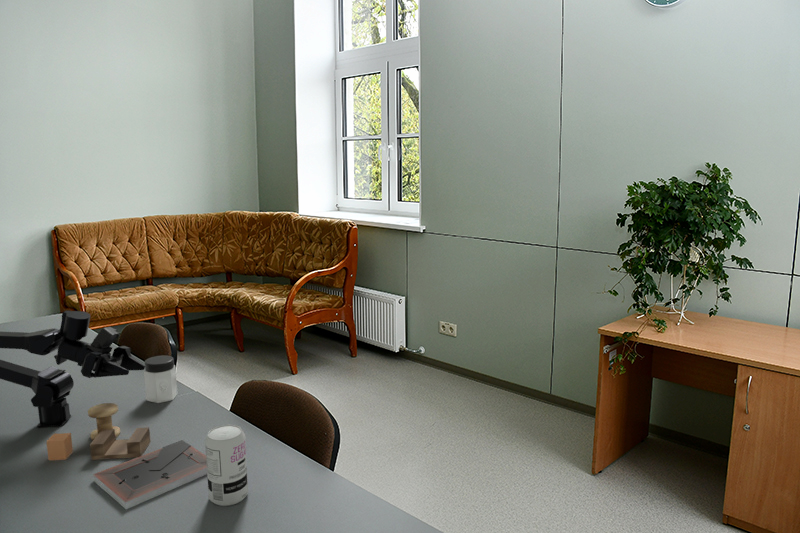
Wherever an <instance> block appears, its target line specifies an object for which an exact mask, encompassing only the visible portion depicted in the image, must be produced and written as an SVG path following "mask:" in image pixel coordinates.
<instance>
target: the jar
mask: <svg viewBox="0 0 800 533" xmlns="http://www.w3.org/2000/svg"><path fill="white" fill-rule="evenodd" d="M144 366H145V369H144V370H143V376H144V386H145V398H146V401H147V402H152V403H154V404H160V403H161V404H162V403H165V402H169V401H174V399H175V397H176V396H177V395H178V386H177V385H178V383H177V382H178V380H177V371H176V365H175V361H174V357H173V356H171V355H155V356H151V357H148V358H147V359H145V360H144Z"/></svg>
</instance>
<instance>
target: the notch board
mask: <svg viewBox="0 0 800 533" xmlns="http://www.w3.org/2000/svg"><path fill="white" fill-rule="evenodd" d="M91 441H92V442H91V443H90V444H89V449H90V456H91V457H90V458H91V461H95V460H97V461H98V460H111V459H112V460H113V459H135V458H137V457H140V456H143V455H144V453H145V451H146V449H147V448H148V446H149V445H150V443H151V432H150V427H149V426H146V427H145V426H144V427H136V429H135V430H134V432H133V433H132V434H131V436H130V437H129V438H128V439H125V438H124V439H116V438H115V429H104V430H101V432H100V433H99V434H98V435H97V436H96V438H95V439H94V440H91Z"/></svg>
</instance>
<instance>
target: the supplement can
mask: <svg viewBox="0 0 800 533" xmlns="http://www.w3.org/2000/svg"><path fill="white" fill-rule="evenodd" d="M204 442H205V443H204V445H205V455H206V462H207V474H206V475H207V476H206V477H207V488H208V499H209V501H210V502H211V503H213V504H215V505H217V506H221V507H227V506H228V507H229V506H233V505H235V504H238V503H241V502H242V501H243V500H245V498H246V497H247V495H248V494H249V481H248V479H249V478H248V466H247V465H248V464H247V461H248V460H247V447H246V434H245V432H244V431H243V429H242V428H241V426H239V425H234V424H224V425H219V426H216V427H214V428H212V429H210V430H209V431H208V432H207V437H205V440H204Z"/></svg>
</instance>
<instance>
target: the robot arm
mask: <svg viewBox="0 0 800 533" xmlns="http://www.w3.org/2000/svg"><path fill="white" fill-rule="evenodd" d="M90 320H91V314H90V313H89V312H86V311H80V310H73V311H71V310H65V311H63V312H62V314H61V323H60V328H55V327H54V328H49V329H48V328H46V329H41V330H38V331H33V332H22V331H21V332H19V331H0V349H12V350H25V351H27V352H28V353H30V354H33V355H38V356H46V355H49V354H51V353H52V352H55V351H56V352H57V353H56V354H55V355H53V358H54V359H55V362H56V365H57V366H59V365H61V364H64V363H65V362H67V361H71V362H74V363H77V366H79V367H81V369H80V373H81V375H82V376H83V377H85V378H88V379H91V378H95V379H96V378H104V377H105V378H106V377H115V376H116V377H117V376H128V375H129V374H130V371H145V364H143V363H141V362H140V361H139V360H137V359H136V358H134V357H133V356H132V354H131V352H132V350H131V347H128V346H126V345H121V346H118V347H115V348H113V347H112V346H111V345H113V343H114V341H116V339H118V338H119V337H120V333H119V332H118V329H117V328H113V327H111V326H108V327H103V328H102V329H101V330H100V331H99V332H98V334H97V335H96V336H95V337H94V339H93V341H92V342H90V343H89V342H86V341H83V340H82V339H83V338H85V337H87V336H88V330H89V326H90ZM112 350H113V352H112ZM0 380H1V381H6V382H9V383H13V384H16V385H19V386H22V387H26V388H29V389H31V390H32V392H34V396H33V397H31V399H30V402H31V404H32V406H33V407H34V408H37V411H38V412H37V413H38V419H39V422H38V424H37V425H36V428H44V427H45V428H46V427H49V428H51V427H61V426H63V425H64V424H65V423H66V422H67V421H68V420H69V419H70V418H72V414H71V412H70V403H67V402H68V401H67V397H68V396H70V395H71V394H70V393H71V390H72V389H73V387H74V385H75V384H74V379H73V377H72V375H71V374H70V373H69V372H66V369H61V368H60V369H59V368H57V367H55V366H49V367H48V368H45V369H44V370H42V371H40V370H36V369H34V368H30V367H27V366H23V365H19V364H17V363H13V362H10V361H6V360H3V359H0Z"/></svg>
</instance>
